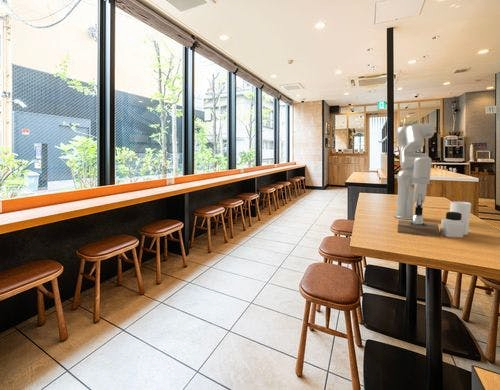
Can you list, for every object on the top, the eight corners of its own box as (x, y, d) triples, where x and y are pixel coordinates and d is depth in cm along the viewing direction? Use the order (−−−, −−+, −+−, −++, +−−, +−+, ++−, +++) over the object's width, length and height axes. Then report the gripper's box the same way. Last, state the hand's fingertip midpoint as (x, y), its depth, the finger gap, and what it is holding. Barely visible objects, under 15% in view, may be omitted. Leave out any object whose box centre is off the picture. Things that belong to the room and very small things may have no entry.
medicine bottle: (463, 238, 125) (466, 214, 122) (446, 237, 126) (449, 214, 124) (455, 232, 131) (458, 210, 129) (439, 232, 133) (442, 210, 131)
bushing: (412, 229, 140) (412, 214, 139) (422, 230, 138) (422, 214, 137) (412, 231, 136) (412, 215, 135) (422, 232, 134) (423, 216, 133)
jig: (398, 226, 147) (399, 219, 146) (437, 231, 137) (437, 223, 136) (397, 232, 137) (397, 224, 136) (438, 237, 127) (439, 228, 126)
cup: (449, 229, 140) (452, 200, 137) (468, 232, 134) (472, 202, 131) (446, 232, 134) (449, 202, 132) (467, 235, 128) (470, 204, 126)
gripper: (412, 179, 141) (410, 211, 144) (412, 181, 129) (409, 216, 131) (429, 179, 137) (426, 212, 140) (430, 182, 125) (427, 218, 127)
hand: (418, 214), depth 136 cm, fingers closed
